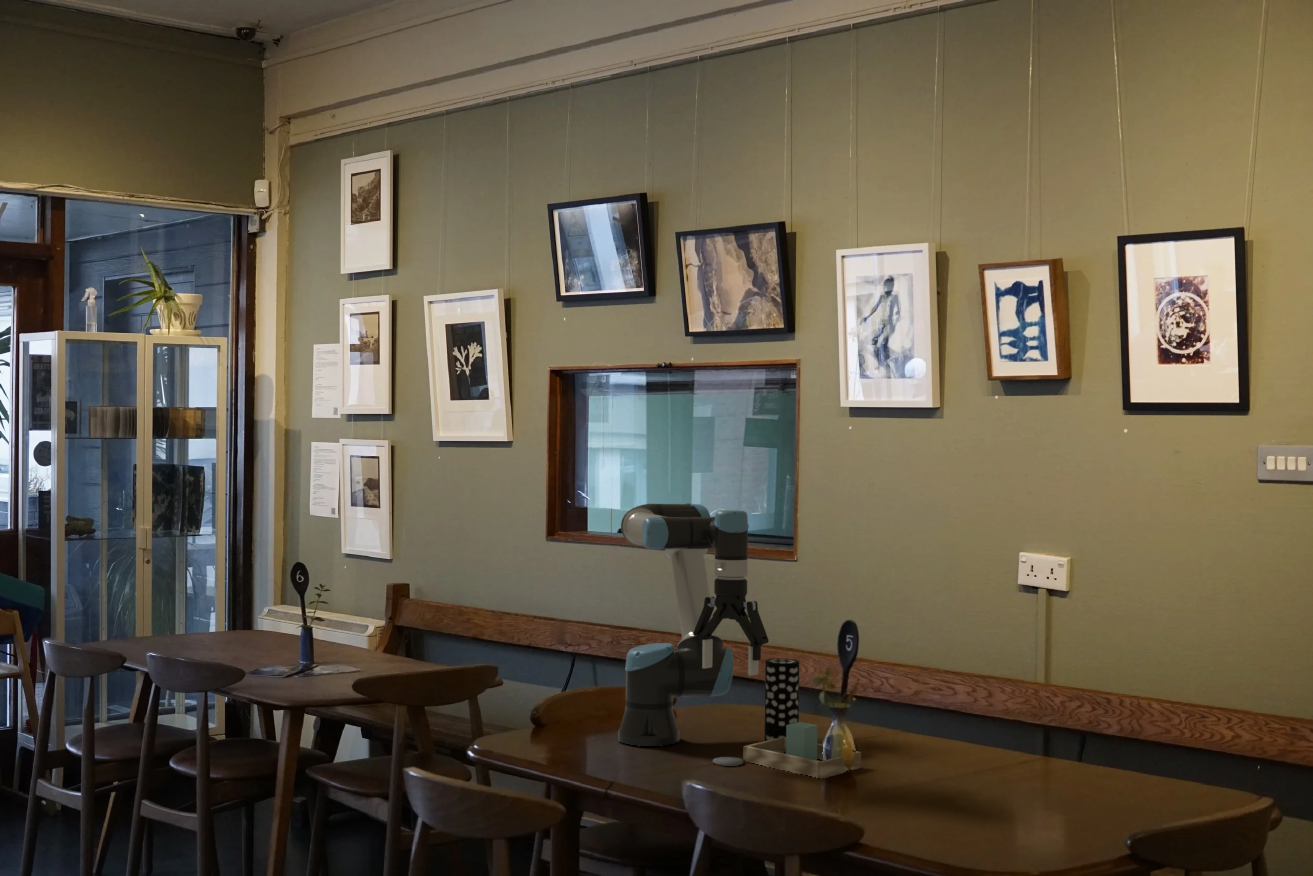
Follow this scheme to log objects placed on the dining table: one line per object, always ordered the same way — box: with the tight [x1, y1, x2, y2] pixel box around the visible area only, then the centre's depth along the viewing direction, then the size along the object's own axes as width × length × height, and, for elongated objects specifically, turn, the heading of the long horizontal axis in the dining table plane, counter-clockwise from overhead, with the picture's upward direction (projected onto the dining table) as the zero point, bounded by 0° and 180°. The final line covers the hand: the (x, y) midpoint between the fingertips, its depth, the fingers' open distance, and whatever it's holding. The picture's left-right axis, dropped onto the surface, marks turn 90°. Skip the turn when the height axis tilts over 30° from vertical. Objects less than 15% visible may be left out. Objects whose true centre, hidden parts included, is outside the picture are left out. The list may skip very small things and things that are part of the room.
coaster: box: [712, 756, 745, 765], centre depth 284 cm, size 7×7×1 cm
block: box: [785, 721, 818, 761], centre depth 283 cm, size 5×5×9 cm
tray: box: [742, 737, 862, 780], centre depth 283 cm, size 22×15×4 cm
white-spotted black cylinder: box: [764, 657, 800, 741], centre depth 306 cm, size 8×8×20 cm
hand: (729, 671), depth 284 cm, fingers open, 13 cm apart
